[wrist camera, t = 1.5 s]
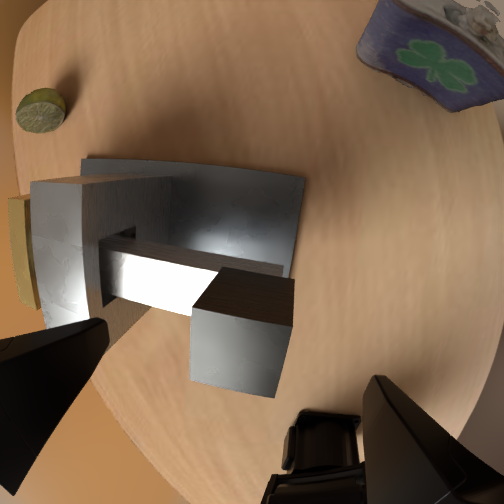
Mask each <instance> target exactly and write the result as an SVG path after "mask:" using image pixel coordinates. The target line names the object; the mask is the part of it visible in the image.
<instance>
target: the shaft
mask: <svg viewBox="0 0 504 504" xmlns="http://www.w3.org/2000/svg"><path fill="white" fill-rule="evenodd" d="M10 242H11V241H10ZM98 250H99V271H100V285H101V291H102V292H105V293H108V294H112V295H115V296H118V297H122V298H125V299H129V300H132V301H136V302H139V303H143V304H147V305H150V306H154V307H158V308H162V309H166V310H169V311H173V312H177V313H182V314H186V315H190V316H191V330H190V380H192V381H196V382H199V383H203V384H207V385H211V386H215V387H220V388H224V389H228V390H233V391H238V392H242V393H247V394H252V395H258V396H263V397H269V398H275V394H276V391H277V387H278V383H279V380H280V376H281V372H282V368H283V364H284V360H285V357H286V353H287V349H288V345H289V340H290V336H291V332H292V328H293V310H294V284H295V279H290V278H285V277H282V276H283V269H284V265H279V264H273V263H267V262H261V261H256V260H250V259H244V258H239V257H233V256H227V255H222V254H216V253H210V252H205V251H199V250H194V249H188V248H183V247H177V246H172V245H166V244H161V243H155V242H150V241H144V240H139V239H133V238H128V237H123V236H117V235H110V236H108V237H105V238H103V239H100V240H98ZM11 252H12V251H11Z"/></svg>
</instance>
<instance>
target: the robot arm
mask: <svg viewBox="0 0 504 504" xmlns="http://www.w3.org/2000/svg"><path fill="white" fill-rule="evenodd" d="M109 343H110V336H109V329H108V323H107V321H106V320H104V319H101V318H99V317H94V318H90V319H86V320H82V321H78V322H74V323H70V324H66V325H62V326H58V327H53V328H49V329H45V330H41V331H37V332H32V333H28V334H23V335H19V336H15V337H10V338H5V339H1V340H0V485H1V486H2V487H3V488H4V489H5V490H7V491H8V492H9V493H10V494H11V495H12V496H14V495H15V494H16V492H17V491H18V489H19V487H20V485H21V483H22V482H23V480H24V478H25V476H26V475H27V473H28V471H29V470H30V468H31V466H32V465H33V463H34V461H35V460H36V458H37V456H38V455H39V453H40V451H41V450H42V448H43V447H44V445H45V444H46V442H47V440H48V439H49V437H50V436H51V434H52V433H53V431H54V430H55V428H56V426H57V425H58V424H59V422H60V420H61V419H62V417H63V416H64V415H65V413H66V412H67V410H68V409H69V407H70V406H71V404H72V403H73V401H74V400H75V399H76V397H77V396H78V394H79V393H80V391H81V390H82V388H83V387H84V386H85V384H86V383H87V381H88V380H89V379H90V377H91V376H92V374H93V372H94V371H95V369H96V367H97V365H98V363H99V362H100V360H101V358H102V356H103V355H104V353H105V351H106V350H107V348H108V346H109ZM360 423H361V417H360V416H353V415H336V414H324V413H314V412H305V411H302V412H300V413H299V414H298V416H297V418H296V421H295V423H294V426H291V427H289V430H288V432H287V435H286V437H285V440H284V449H283V458H282V467H281V468H282V469H283V470H287V474H282V475H278V474H272V475H271V478H270V481H269V482H268V485H267V487H266V490H265V493H264V496H263V498H262V501H261V504H504V476H503V475H501V474H500V473H499V472H497V471H496V470H494V469H493V468H492V467H490V466H489V465H487V464H486V463H485V462H483V461H482V460H480V459H479V458H478V457H476V456H475V455H474V454H473V453H471V452H470V451H469V450H467V449H466V448H465V447H464V446H463V445H462V444H460V443H459V442H458V441H457V440H456V439H455V438H454V437H453V436H450V434H449V433H448V432H447V431H446V430H445V429H444V428H443V427H441V426H440V425H439V424H438V423H437V422H436V421H435V420H434V419H433V418H432V417H430V416H429V415H428V414H427V413H426V412H425V411H424V410H423V409H422V408H421V407H419V406H418V405H417V404H416V403H415V402H414V401H413V400H412V399H411V398H409V397H408V396H407V395H406V394H405V393H404V392H403V391H402V390H401V389H400V388H398V387H397V386H396V385H395V384H394V383H393V382H392V381H391V380H390V379H389V378H387V377H386V376H384V375H374V376H372V378H371V380H370V382H369V384H368V386H367V388H366V390H365V392H364V395H363V446H364V456H365V461H363V462H362V463H360V461H359V452H358V444H357V437H356V429H357V428H358V426H359V425H360Z"/></svg>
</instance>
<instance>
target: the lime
mask: <svg viewBox="0 0 504 504" xmlns="http://www.w3.org/2000/svg"><path fill="white" fill-rule="evenodd" d="M65 113H66V106H65V102H64V100H63V98H62V96H61V95H60V94H59V93H58V92H57V91H56V90H55V89H51V88H41V89H37V90H34V91H33V92H31V93H30V94H28V95H26V96H25V97H24V98H23V99H22V101H21V102H20V104H19V106H18V108H17V111H16V121H17V123H18V124H19V126H20V127H21V128H22V129H23V130H25V131H28V132H33V133H46V132H51V131H53V130H55V129H56V128H57V127H59V126H60V125H61V124H62V122H63V119H64V116H65Z"/></svg>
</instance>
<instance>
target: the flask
mask: <svg viewBox="0 0 504 504" xmlns="http://www.w3.org/2000/svg"><path fill="white" fill-rule="evenodd" d="M478 1H480V0H478ZM485 4H486V6H487V7H488V8H490V9H491V10H492V11H494V12H495V13H496V14H497V16H499V14H500V13H499V11H498V10H497V9H496V8H495V7H494V6H493V5H492V4H491V3H489V2H487V1H485ZM497 21H499V22H500V20H499V19H498V18H497V17H496V16H495V15H494V14H493V13H491V12H489V10H488V9H486V8H485V7H483V6H482V5H479V6H478V7H476V8H475V9H472V8H471V9H469V8H467V7H466V8H465V7H463V6H461V5H460V4H458V3H457V2H455V1H453V0H379V2H378V4H377V6H376V8H375V10H374V13H373V15H372V17H371V19H370V21H369V23H368V25H367V26H366V28H365V30H364V33H363V34H362V37H361V38H360V41H359V42H358V44H357V46H356V53H357V58H358V59H360V60H361V62H363V63H364V64H366V65H367V66H368V67H370V68H372V69H373V70H375V71H377V72H380V71H382V72H384V73H386V74H388V75H389V76H392V77H393V78H395V79H396V81H398V82H400V83H402V85H406V86H407V87H411V88H412V87H413V88H416V89H419V90H420V91H422V94H423V95H425V96H429V97H431V98H433V100H434V101H435V102H436V103H438V104H439V105H441V106H442V107H443V108H444V109H446V110H447V111H448V112H452V113H453V112H460V111H461V110H464V109H467V108H470V107H473V106H481V105H484V104H487V103H490V102H493V101H497V100H502V99H504V39H503V38H502V37H501V36H500V35H499V34H498V30H497V28H496V25H495V24H496V22H497Z"/></svg>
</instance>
